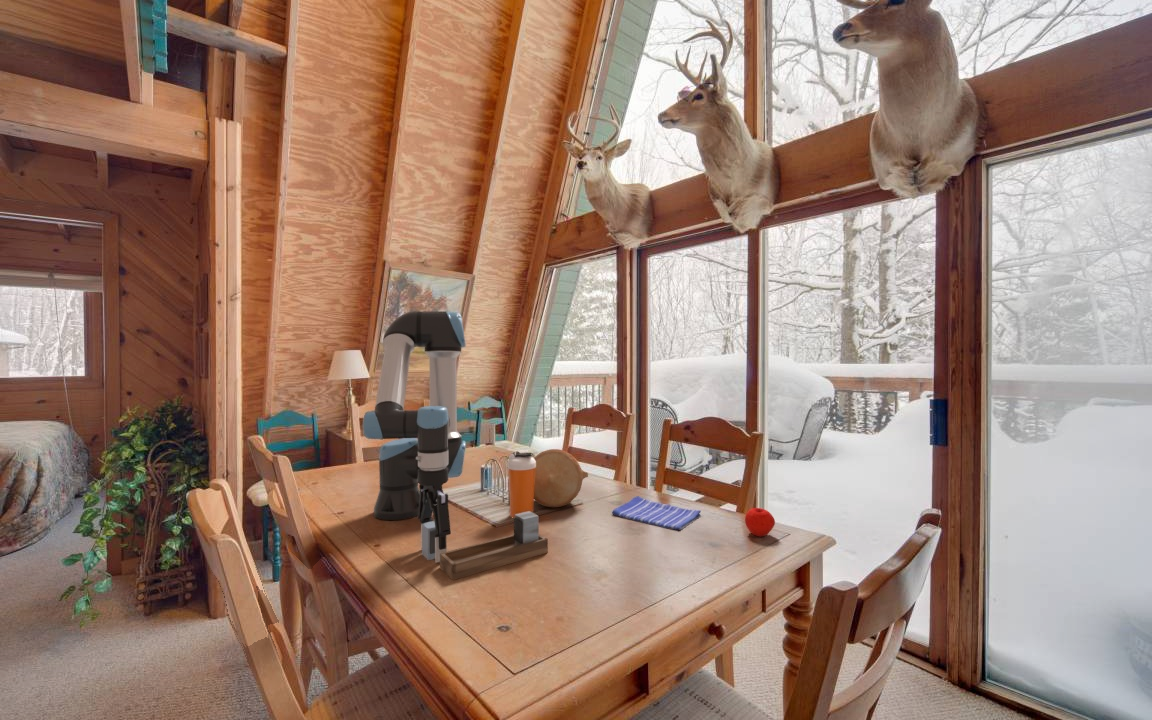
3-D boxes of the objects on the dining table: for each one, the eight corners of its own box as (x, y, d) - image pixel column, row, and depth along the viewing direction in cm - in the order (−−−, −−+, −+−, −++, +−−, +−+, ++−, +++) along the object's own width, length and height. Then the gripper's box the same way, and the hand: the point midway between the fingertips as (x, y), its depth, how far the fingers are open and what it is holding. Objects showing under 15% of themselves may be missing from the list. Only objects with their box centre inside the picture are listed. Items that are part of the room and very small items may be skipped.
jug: (510, 476, 162) (518, 465, 192) (546, 525, 161) (548, 506, 191) (560, 438, 163) (560, 433, 193) (596, 486, 162) (590, 473, 192)
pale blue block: (438, 550, 134) (438, 520, 133) (446, 556, 129) (446, 525, 129) (422, 554, 131) (421, 523, 131) (429, 561, 127) (428, 529, 127)
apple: (778, 534, 145) (779, 508, 145) (767, 542, 139) (767, 515, 139) (751, 527, 150) (752, 502, 150) (739, 534, 145) (740, 508, 144)
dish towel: (636, 502, 175) (636, 494, 175) (702, 516, 161) (702, 507, 161) (609, 516, 161) (609, 507, 161) (679, 533, 147) (679, 523, 147)
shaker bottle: (531, 522, 154) (531, 456, 154) (503, 520, 156) (503, 455, 155) (539, 512, 163) (539, 450, 162) (512, 510, 165) (512, 449, 164)
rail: (439, 567, 123) (439, 528, 123) (531, 542, 139) (531, 508, 138) (452, 579, 117) (452, 539, 116) (547, 552, 132) (547, 516, 132)
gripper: (404, 461, 136) (405, 544, 137) (434, 478, 119) (435, 573, 119) (431, 457, 141) (432, 537, 141) (464, 473, 123) (465, 565, 124)
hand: (433, 554), depth 130 cm, fingers open, 9 cm apart
